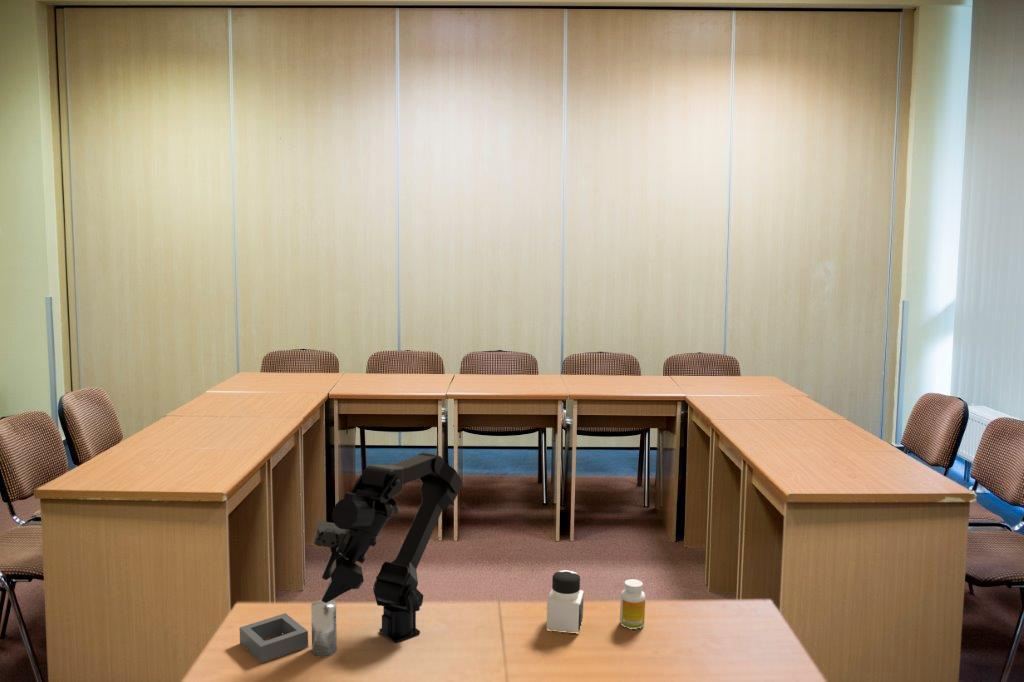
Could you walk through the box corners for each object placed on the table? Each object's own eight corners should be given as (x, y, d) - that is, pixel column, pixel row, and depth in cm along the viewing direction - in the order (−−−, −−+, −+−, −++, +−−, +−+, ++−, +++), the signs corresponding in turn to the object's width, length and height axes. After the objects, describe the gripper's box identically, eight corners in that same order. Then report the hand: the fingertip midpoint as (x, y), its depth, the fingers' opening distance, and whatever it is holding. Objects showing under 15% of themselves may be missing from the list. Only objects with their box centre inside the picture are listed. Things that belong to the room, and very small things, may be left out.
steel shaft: (329, 642, 173) (328, 596, 172) (341, 651, 169) (341, 605, 168) (307, 649, 170) (306, 603, 168) (319, 659, 166) (318, 612, 165)
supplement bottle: (648, 629, 181) (649, 587, 180) (624, 631, 180) (626, 589, 179) (638, 617, 187) (640, 576, 185) (616, 619, 185) (617, 578, 184)
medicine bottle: (579, 635, 178) (580, 582, 176) (546, 631, 179) (547, 578, 178) (582, 620, 185) (584, 568, 183) (551, 616, 186) (552, 565, 185)
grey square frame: (285, 628, 178) (285, 613, 178) (308, 646, 171) (307, 630, 170) (239, 643, 172) (239, 627, 171) (261, 663, 164) (260, 646, 164)
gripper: (331, 490, 172) (290, 551, 173) (331, 528, 154) (286, 596, 155) (376, 514, 175) (336, 574, 176) (382, 555, 158) (337, 621, 158)
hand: (323, 590), depth 166 cm, fingers open, 9 cm apart
